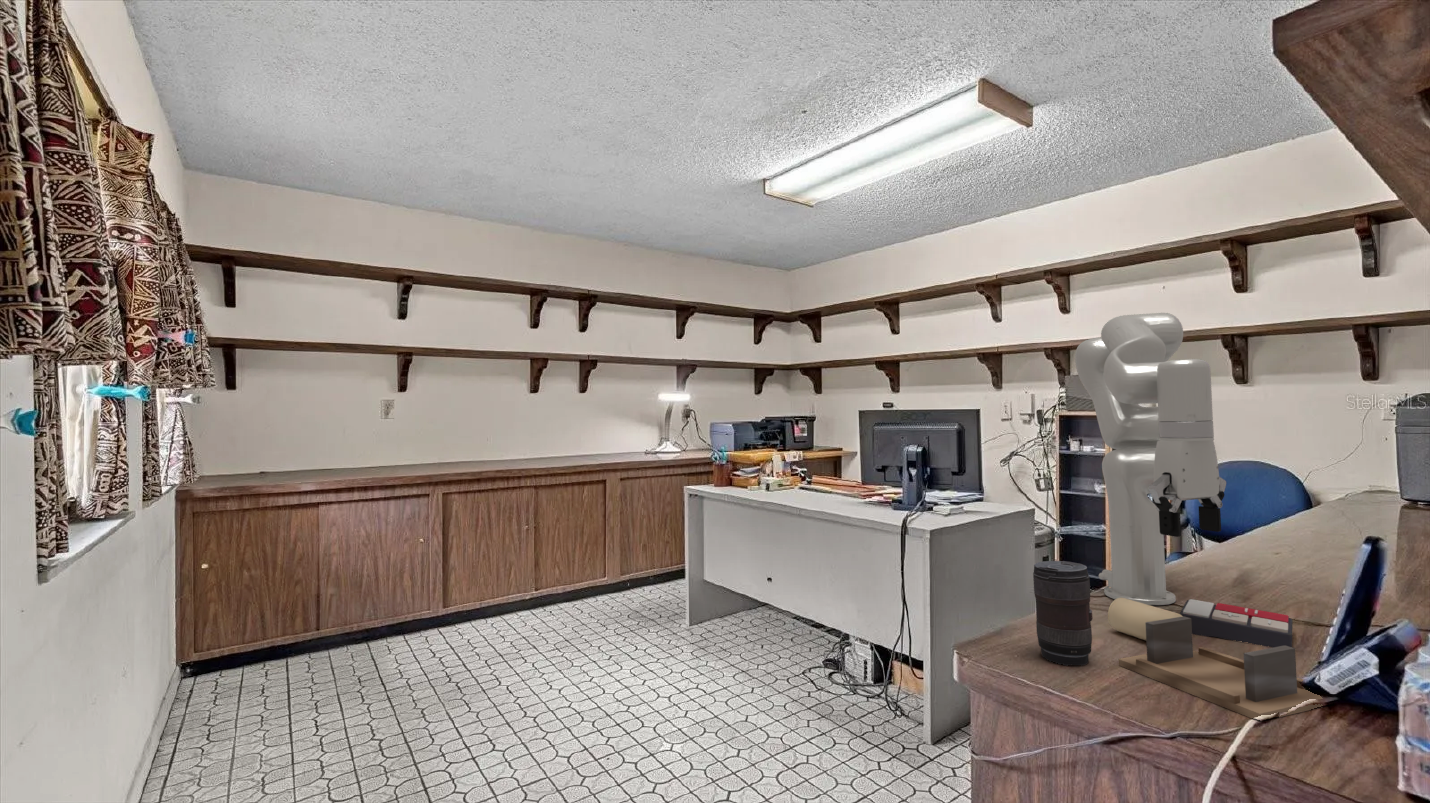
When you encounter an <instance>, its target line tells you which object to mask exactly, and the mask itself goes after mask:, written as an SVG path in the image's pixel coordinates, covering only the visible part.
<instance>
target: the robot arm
mask: <svg viewBox="0 0 1430 803" xmlns="http://www.w3.org/2000/svg"><path fill="white" fill-rule="evenodd" d="M1183 339H1184V327H1183V325H1182V322H1181V321H1180V319H1179V318H1177V316H1176V315H1174V314H1171V313H1168V312H1156V313H1154V312H1151V313H1140V314H1139V313H1138V314H1135V313H1134V314H1123V315H1118V316H1116V317H1113V318H1111V319H1109V320H1108V321H1106V323H1104V325H1103V327H1102V329H1101V332H1100V336H1098V337H1097V336H1096V337H1092V338H1089V339H1088V338H1087V339H1086V340H1084V341H1082V342H1081V343H1080V344H1078V346H1077V348H1076V350H1075V352H1074V353H1075V355H1074V357H1075V358H1074V360H1075V361H1074V362H1075V368H1076V372H1077V376H1078V379H1079V380H1080V382H1081V384H1082V385H1083V388H1084V389H1085V390H1086V393H1088V395H1089V397H1090V398H1091V401H1092V404H1093V407H1094V411H1095V414H1096V419H1097V423H1098V427H1099V430H1100V433H1101V434H1100V435H1101V437H1102V438H1101V439H1102V440H1103V443H1104V444H1105V445H1106V446H1107V447H1109V448H1111V449H1112V450H1110V451H1109V452H1108V453H1107V452H1106V454H1105V455H1104V456H1103V459H1102V462H1101V469H1102V470H1101V471H1102V475H1103V480H1104V484H1105V485H1104V486H1105V489H1106V494H1107V502H1108V515H1109V516H1108V517H1109V518H1108V519H1109V534H1110V535H1109V538H1110V540H1109V542H1110V557H1111V558H1110V559H1111V561H1110V562H1111V569H1110V570H1109V569H1103V570H1102V571H1101V572H1099V574H1098V578H1099V579H1100V580H1103V581H1107V585H1108V586H1105V587H1104V595H1105V596H1107V597H1108V598H1111V599H1113V600H1115V599H1117V598H1126V599H1129V600H1133V601H1136V602H1140V603H1143V604H1147V605H1150V606H1165V605H1171V604H1172V605H1173V604H1174V603H1175V602H1176V601H1177V597H1176V595H1175V593H1173V592H1171V591H1170V590H1169V591H1168V590H1167V579H1166V577H1167V576H1166V561H1165V560H1166V559H1165V538H1164V536H1168V537H1169V536H1170V537H1174V538H1175V537H1176V538H1178V537H1181V536H1182V523H1181V522H1182V521H1181V512H1180V511H1179V512H1178V509H1179V508H1180V506H1181V503H1182V501H1193V500H1198V502H1199V503H1200V505H1199V506H1198V520H1199V521H1198V525H1199V529H1200V530H1202V531H1209V532H1214V533H1215V532H1216V533H1219V532H1221V531H1222V521H1221V520H1222V517H1221V515H1222V514H1221V508H1222V507H1223V502H1222V501H1223V499H1224V498H1225V496H1226V495H1225V491H1226V490H1225V489H1226V486H1227V481H1226V480H1225V479H1224V478H1222V477H1221V476H1220V473H1219V472H1220V471H1219V463H1218V457H1217V451H1216V446H1215V442H1214V440H1215V436H1214V435H1215V432H1214V416H1213V394H1212V393H1213V392H1212V372H1211V365H1210V363H1209V362H1208V361H1207V360H1204V359H1199V358H1186V359H1171V358H1172V357H1173V356H1174V354H1176V352H1177V351H1178V350H1179V349H1180V347H1181V346H1182V343H1183ZM1170 359H1171V360H1170ZM1141 404H1142V405H1141ZM1143 404H1144V405H1145V404H1146V405H1148V404H1157V406H1143ZM1148 495H1151V499H1150V498H1149V497H1148ZM1170 501H1171V502H1170ZM1109 587H1111V588H1109Z"/></svg>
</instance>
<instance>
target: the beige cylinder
mask: <svg viewBox="0 0 1430 803" xmlns="http://www.w3.org/2000/svg"><path fill="white" fill-rule="evenodd" d="M1176 617H1183V616H1182V615H1180V613H1177V612H1174V611H1171V610H1167V609H1163V608H1161V607H1157V606H1155V605H1147V604H1143V603H1140V602H1136V601H1133V600H1129V599H1126V598H1117V599H1113V601H1112V602H1111V604H1110V605H1109V608H1108V610H1107V621H1108V624H1109V625H1110V627H1111V628H1112V629H1113V630H1115V631H1117V632H1119V633H1123V634H1125V635H1128V636H1131V637H1134V638H1136V639H1137V638H1138V639H1140V640H1143V641H1146V622H1151V621H1157V620H1164V619H1170V618H1176Z"/></svg>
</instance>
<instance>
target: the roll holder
mask: <svg viewBox="0 0 1430 803" xmlns="http://www.w3.org/2000/svg"><path fill="white" fill-rule="evenodd" d="M1193 646H1194V644H1193V634H1192V622H1191V618H1188V617H1184V616H1183V617H1176V618H1170V619H1164V620H1157V621H1151V622H1146V653H1143V654H1139V655H1133V656H1127V657H1121V658H1118V666H1119V667H1122V668H1125V669H1127V670H1129V671H1132V672H1134V673H1138V674H1140V675H1142V676H1145V677H1147V678H1150V679H1152V680H1155V681H1157V682H1160V683H1162V684H1164V685H1167V686H1170V687H1171V688H1174V689H1176V690H1180V691H1181V692H1184V693H1186V694H1190V695H1192V696H1195V697H1198V698H1200V699H1202V700H1205V701H1207V702H1209V703H1212V704H1215V705H1217V706H1219V707H1222V708H1225V709H1227V710H1230V711H1233V712H1235V713H1236V714H1237V713H1238V714H1240V715H1242V716H1245V717H1247V718H1250V719H1252V718H1254V717H1258V716H1261V715H1271V714H1274V713H1277V712H1288V710H1289V709H1291V708H1292V707H1296V705H1298V704H1301V703H1302V702H1304V701H1307V700H1309V699H1322V697H1321V696H1320V695H1317V694H1314V693H1312V692H1310V691H1308V690H1305V689H1304V688H1303V687H1302V686H1301V685H1300V683H1298V682H1302V681H1303V680H1304V679H1303V678H1300V677H1298V676H1297V662H1296V660H1297V656H1296V648H1295V647H1293V646H1292V647H1289V646H1285V645H1284V646H1279V647H1269V648H1268V647H1267V648H1262V649H1259V650H1253V651H1248V652H1243V659H1241V658H1239V657H1235V656H1232V655H1229V654H1226V653H1223V652H1220V651H1217V650H1214V649H1211V648H1207V647H1205V646H1202V647H1201V646H1200V647H1198V651H1197V650H1194V647H1193ZM1321 706H1323V705H1322V704H1321V705H1320V704H1318V705H1317V704H1315V705H1308V706H1304V707H1299V708H1297V709H1296V710H1295V711H1292V712H1290V713H1287V715H1281V716H1279V718H1282V717H1286V716H1291V715H1295V714H1299V713H1300V714H1301V713H1303V712H1308V711H1312V710H1311V709H1313V710H1315V709H1314V708H1317V707H1321ZM1321 708H1322V707H1321ZM1317 709H1318V708H1317Z"/></svg>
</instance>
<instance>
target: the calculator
mask: <svg viewBox="0 0 1430 803" xmlns="http://www.w3.org/2000/svg"><path fill="white" fill-rule="evenodd" d="M1179 614H1180V615H1182V616H1184V617H1188V618H1191V622H1192V635H1196V636H1202V637H1208V638H1209V637H1214V638H1219V639H1222V640H1223V639H1224V640H1229V641H1233V640H1236V641H1235V642H1238V641H1242V642H1241V643H1244V642H1248V643H1247V644H1249V643H1252V644H1251V645H1255V644H1256V645H1257V646H1261V645H1262V647H1268V646H1269V648H1274V647H1279V646H1284V645H1285V646H1289V647H1292V648H1293V619H1292V618H1290V615H1288V614H1285V613H1284V614H1283V613H1279V612H1272V611H1267V610H1262V609H1261V610H1259V609H1255V608H1254V609H1253V608H1248V607H1245V606H1244V607H1243V606H1237V605H1232V604H1226V603H1220V602H1217V603H1216V604H1215V603H1214V602H1209V601H1205V600H1204V601H1203V600H1197V599H1191V598H1190V599H1188V600H1186V602H1185V603H1184V605H1183V607H1182V608H1181V610H1180V612H1179Z"/></svg>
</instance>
